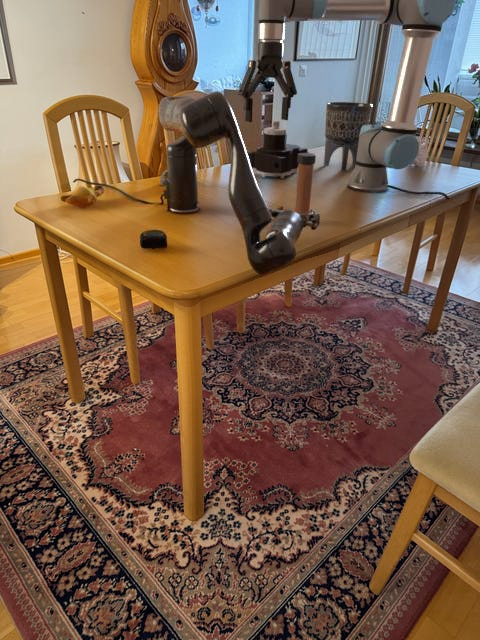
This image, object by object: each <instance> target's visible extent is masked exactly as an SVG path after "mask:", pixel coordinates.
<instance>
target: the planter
mask: <svg viewBox="0 0 480 640" xmlns="http://www.w3.org/2000/svg"><path fill="white" fill-rule="evenodd" d="M373 107H374V106H373V104H372V103H367V102H353V101H333V102H327V103H326V109H325V124H324V125H325V126H324V139H325V144H324V156H323V157H324V158H323V165H325V166H328V165H330V163H331V158H332V156H333V154H334V153H335V151H336V150H337V149H340V148H341V150H342V153H341V166H340V170H341V172H345V171H347V167H348V166H347V165H348V159H349V152H350V154H351V157H352V158H351V159H352V160H351V161H352V166H353V167H355V165H356V158H357V151H358V143H359V135H360V131H361V128H362V126H364V125H370V121H371V116H372V112H373Z"/></svg>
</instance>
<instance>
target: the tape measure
mask: <svg viewBox="0 0 480 640" xmlns="http://www.w3.org/2000/svg"><path fill="white" fill-rule="evenodd" d="M167 236H168V235H167V234H166V232H165V231H164V230H161V229H147V230H144V231H143V232H141V233H140V235H139V240H140V241H139V245H140V246H139V247H141V248H142V249H146V250H157V249H167V248H168V240H167V239H168V237H167Z"/></svg>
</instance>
